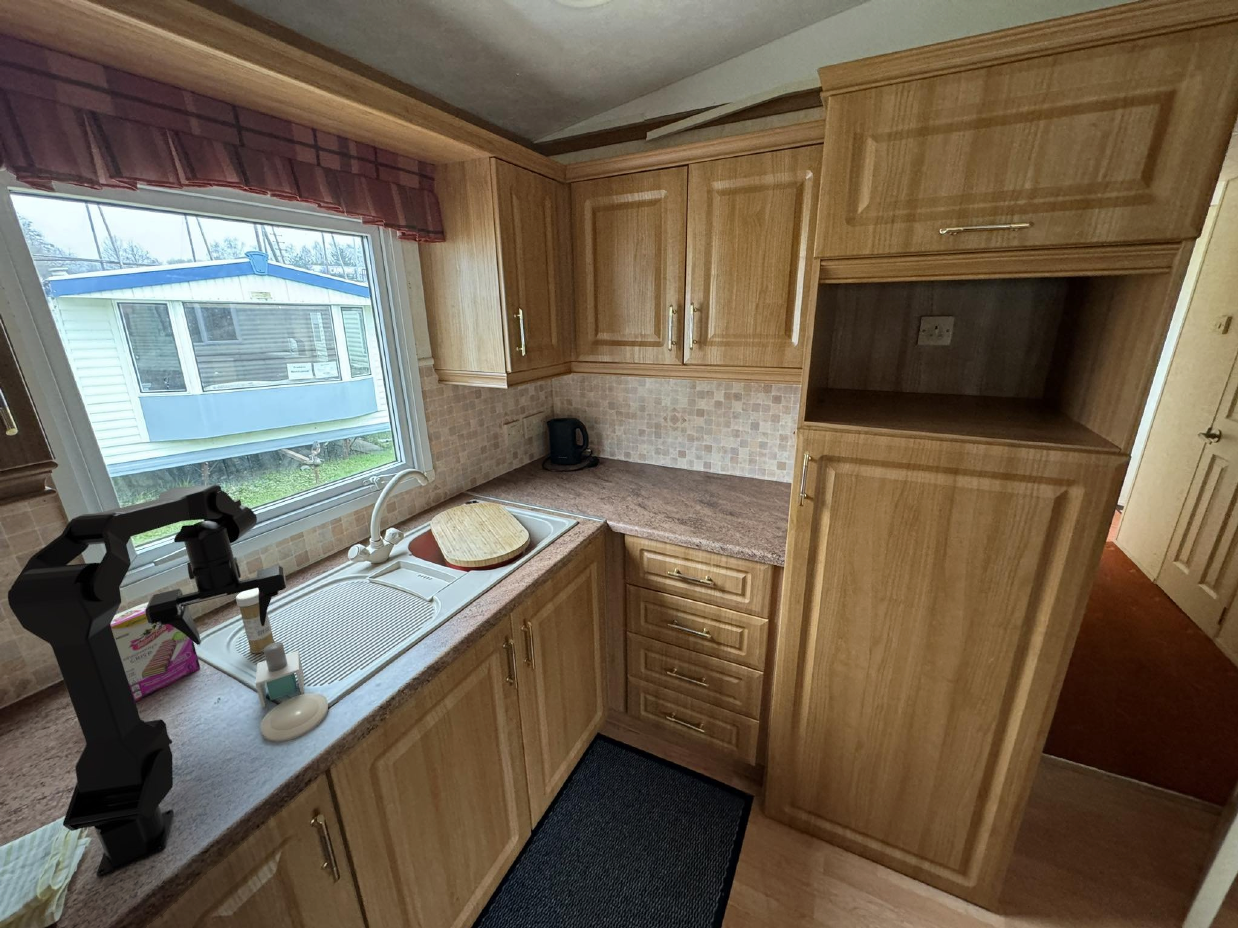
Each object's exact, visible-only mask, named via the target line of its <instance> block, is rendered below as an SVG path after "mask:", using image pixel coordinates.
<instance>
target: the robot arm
mask: <svg viewBox="0 0 1238 928" xmlns="http://www.w3.org/2000/svg"><path fill="white" fill-rule="evenodd" d="M200 520H201V521H200ZM188 521H198V522H196V523H193V524H184V525H181V528H180V530H179V531H178V533H176V535H175V536H174V539H173V541H174V543H184V547H185V549H186V553H187V557H188V560H189V561H187V563H186V564H187V573H188V578H189V580H194V582H195V585H196V590H197V591H193V592H189V593H186V594H184V593H183V591H182V590H181V588H177V589H173V590H168V591H164V592H159V593H155V594H153V595H152V596H151V597H150V599H149V601H148V602H149V603H148V605H147V607H146V617H147V620H148V623H156V622H160V624H161V625H166V624H169V625H171V626H173V627H174V628H176V629H178V630H179V631H181V632H182V633H184V634H185V635H186V636H187V637H189V638H190V639H191V640H192V641H193V642H194V644H195V645H197V646H199V645H201V643H202V640H201V637H200V633H199V631H198V628H197V626H196V623H195V621H194V620H193V616H192V614H191V611H190V607H189V606H191V605H195V604H199V603H202V602H207V601H210V600H214V599H218V598H222V597H226V596H230V595H234V594H239V593H241V592H243V591H247V590H251V589H255V588H258V589H259V597H258V598H259V612H260V622H261V625H262V626H264V625H265V619H266V614H268V608H269V606H270V603H271V601H272V598H273V597H276V596H278V595H279V591H283V590H285V589H286V588H287V584H286V575H285V570H284V567H282V566H281V565H274V566H270V567H266V568H265V567H264V568H261V569H257V570H256V576H255V577H251V578H248V579H244V580H240V578H241V577H242V576H241V570H240V566H239V563H238V560H237V559H238V558H237V557H235V556H234V554H233V548H232V544H233V543H235V542H236V541H238V540H239V539H240V538H242V537H243V536H245V535H246V534H247V533H249V532H250V531H251V530H252V529H254V528H255V526H256V524H257V522H258V517H257V514H256V513H255V512H254V511H253V510H252V509H251V508H249V507H248V506H247V505H244V504H242V501H241V499H233V498H232V497H231V496H230V495H229V494H228V493H227V492H226V491H224V490H222V487H221V485H219V484H204V485H203V484H202V485H192V486H176V487H175V486H174V487H172V488H170V489H168V490H166V491H164V492H162V493H160V494H159V495H158V498H156V499H153V500H150V501H149V500H148V501H144V502H141V503H135V504H131V505H126V506H123V507H118V508H114V509H110V510H105V511H101V512H96V513H84V514H80V515H79V516H76V517H73V518H71V520H70V521H69V522H68V523H67V525H66V527H65V528H64V530H63V531H62V532H61V534H60V535H59V536H57V537H56V538H55V539H53V540H52V541H51V542H49V543H48V544H46V545H45V546H44V547H43V548H41V549H40V550H39V551H37V552H36V553H34V554H33V555H32V556H31V557H30V558H29V559H28V561H27V563H26V564H25V565H24V567H23V569H22V570H21V571H20V573H19V574H18V576H17V578H16V579H15V580H14V582H13V584H12V585H11V588H10V589H9V590H7V602H8V606H9V607H10V609H11V611H12V613H13V614H14V616H15V618H16V619H17V621H18V622H19V624H20V625H21V626H22V628H23V629H25V631H28V632H29V633H31V634H33V635H34V636H36V637H38V638H39V639H41V640H42V641H45V642H46V643H48V645H50V646H51V649H52V651H53V654H54V656H55V660H56V662H57V665H58V668H59V671H60V674H61V676H62V679H63V683H64V685H65V688H66V691H67V693H68V696H69V699H70V701H71V705H72V707H73V709H74V712H75V715H76V718H77V720H78V724H79V727H80V729H81V730H80V731H81V732H82V735H83V738H84V740H85V741H84V742H85V745H84V747H83V750H82V751H81V754H80V756H79V758H78V760H77V762H76V763H75V765H74V768H75V775H76V783H75V787H74V790H73V793H72V796H71V798H70V801H69V805H68V807H67V809H66V810H67V811H66V813H65V816H64V819H63V821H62V822H63V823H62V825H63V827H65V828H66V829H68V830H69V831H71V832H74V831H78V830H80V829H87V828H92V827H93V829H95V832H96V835H97V837H98V840H99V842H100V844H101V845H100V846H102V847H101V848H102V849H103V851H104V852H103V855H102V857H101V860H100V863H99V865H98V867H97V870H96V877H97V878H102V877H105V876H107V875H109V874H111V873H114V872H115V871H116V872H117V871H118V870H120V869H123V868H125V867H127V866H130V865H132V864H135V863H137V862H140V861H143V860H144V859H146V858H148V857H150V856H153V855H155V854H157V853H160V852H162V851H163V850H165V848H166V846H167V844H168V843H167V842H168V839H169V834H170V830H171V825H172V821H173V818H174V815H175V812H174V810H173V809H168V810H166V811H163V812H162V811H161V808H160V804H161V803H162V802H163V800H164V799H165V798H166V796H167V795H168V793H170V792H171V790H172V788H173V786H174V778H173V775H174V774H173V772H174V771H173V768H174V767H173V763H174V762H173V752H172V749H171V745H172V744H173V740H172V739H171V738H170V736H169V734H168V729H167V723H166V722H165V721H164V719H154V720H147V721H144V720H143V719H141V717H140V714H139V710H138V708H137V704H136V702H135V701H134V698H133V695H132V692H131V688H130V685H129V682H128V679H127V676H126V673H125V670H124V667H123V663H122V660H121V657H120V654H119V651H118V648H117V645H116V642H115V639H114V635H113V632H112V629H111V622H112V620H113V618H114V616H115V614H117V613H118V612H117V611H118V610H119V607H120V606H121V604H122V596H121V595H122V594H121V589H120V588H121V585H122V582H123V581H124V579H125V577H126V575H127V572H129V569H130V568H131V565H132V563H131V557H130V554H129V550H128V546H127V544H128V542H129V541H130V539H131V538H132V537H134V536H137V535H141V534H145V533H147V532H151V531H154V530H157V529H160V528H164V527H167V526H170V525H173V524H177V523H180V522H188ZM99 544H101V545H103V544H104V547H105V554H104V555H103V557H102V559H101V561H100V562H88V563H87V562H86V563H76V564H75V563H74V564H70V563H71V562H72V561H74V560H75V559H76V558H77V557H79V556H80V555H81V554H82V553H84V552H85V551H86V550H87V549H88V548H89V546H90V545H99Z"/></svg>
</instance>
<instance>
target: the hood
mask: <svg viewBox="0 0 1238 928" xmlns="http://www.w3.org/2000/svg"><path fill="white" fill-rule="evenodd" d="M284 647H285V646H284V644H283V642H282V641H281V642H280V641H275V643H272V644H270V645H268V646H266V647H265V648H264V652H263V653H264V658H265V660H263V661H260V662H257V666H256V674H255V686H256V688H255V689H256V692H257V695H258V699H259V702H260V707H261V708H264V707H266V699H267V698H266V697H267V684H266V682H269V681H272V680H275V679H278V678H281V677H284V676H287V675H290V674H293V673H294V674H295V675H296V680H297V682H298V686H299V687H298V688H299V690H300V695H303V694H305V681H304V680H305V679H304V678H305V677H304V669H303V664H302V661H301V655H300V652H299V650H296V651H293V652H290V653H286V652H285V648H284Z"/></svg>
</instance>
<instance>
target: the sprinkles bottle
mask: <svg viewBox="0 0 1238 928" xmlns="http://www.w3.org/2000/svg"><path fill="white" fill-rule="evenodd" d="M258 597H259V589H258V588H255V589H251V590H247V591H243V592H239V593H237V595H236V597H235V599H236V600H235V601H236V604H237V606H238V608H239V610H240V611H239V612H240V615H241V620H242V623H243V624H242V625H243V628H244V631H245V634H246V635H245V636H246V639H247V642H248V645H249V651H250V653H252V654H260V653H264V648H265V647H266V646H268V645H270V644H272V643H275V642H276V640H275V639H274V636H273V632H272V625H271V622H270V617H269V615H268V613H267V614H266V619H265V625H264V626H262V625H261V622H260V612H259V598H258Z"/></svg>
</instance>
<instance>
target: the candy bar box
mask: <svg viewBox="0 0 1238 928" xmlns="http://www.w3.org/2000/svg"><path fill="white" fill-rule="evenodd" d="M148 603H149V601H147V602H144V603H141V604H139V605H136V606H134V607H131V608H128V609H126V610H122V611H120V612H116V614H115V616H114V618H113V620H112V622H111V629H112V632H113V635H114V639H115V642H116V645H117V648H118V651H119V654H120V657H121V660H122V663H123V667H124V670H125V673H126V676H127V679H128V682H129V685H130V688H131V692H132V695H133V698H134V701H135V703H136V702H138V701H140V700H142V699H143V698H145V697H147V696H149V695H151V694H153V693H155V692H157V691H158V690H160V689H161V690H162V689H163V688H165V687H167V686H169V685H171V684H173V683H175V682H176V681H179V680H180V679H182V678H185V677H186V676H188V675H191V674H192V673H194V672H196V671H198V670H200V669H201V665H200V661H199V658H198V655H197V650H196V647H195V642H193V641H192V640H191V639H190V638H189V637H187V636H186V635H185V634H184V633H182V632H181V631H179V630H178V629H176V628H174V627H173V626H171V625H169V624H166V625H161V624H160V622H156V623H148V620H147V617H146V607H147V605H148Z"/></svg>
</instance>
